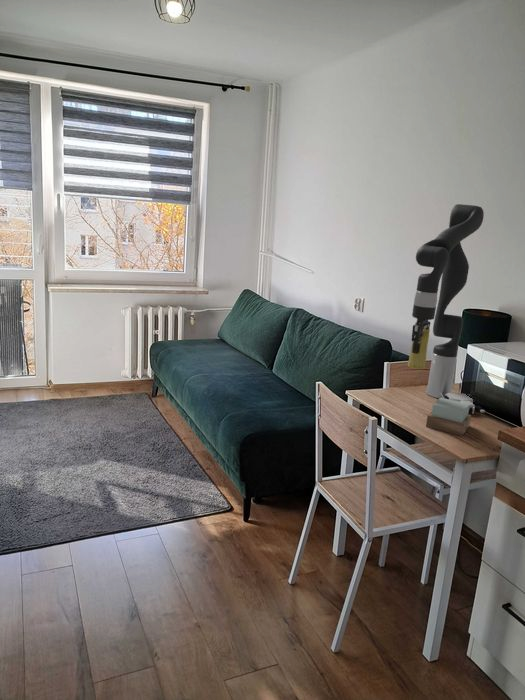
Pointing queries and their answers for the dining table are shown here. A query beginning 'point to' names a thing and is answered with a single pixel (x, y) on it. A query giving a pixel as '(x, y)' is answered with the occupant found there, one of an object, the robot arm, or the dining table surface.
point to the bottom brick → (448, 424)
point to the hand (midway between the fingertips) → (417, 351)
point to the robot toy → (463, 401)
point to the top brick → (450, 410)
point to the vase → (419, 359)
